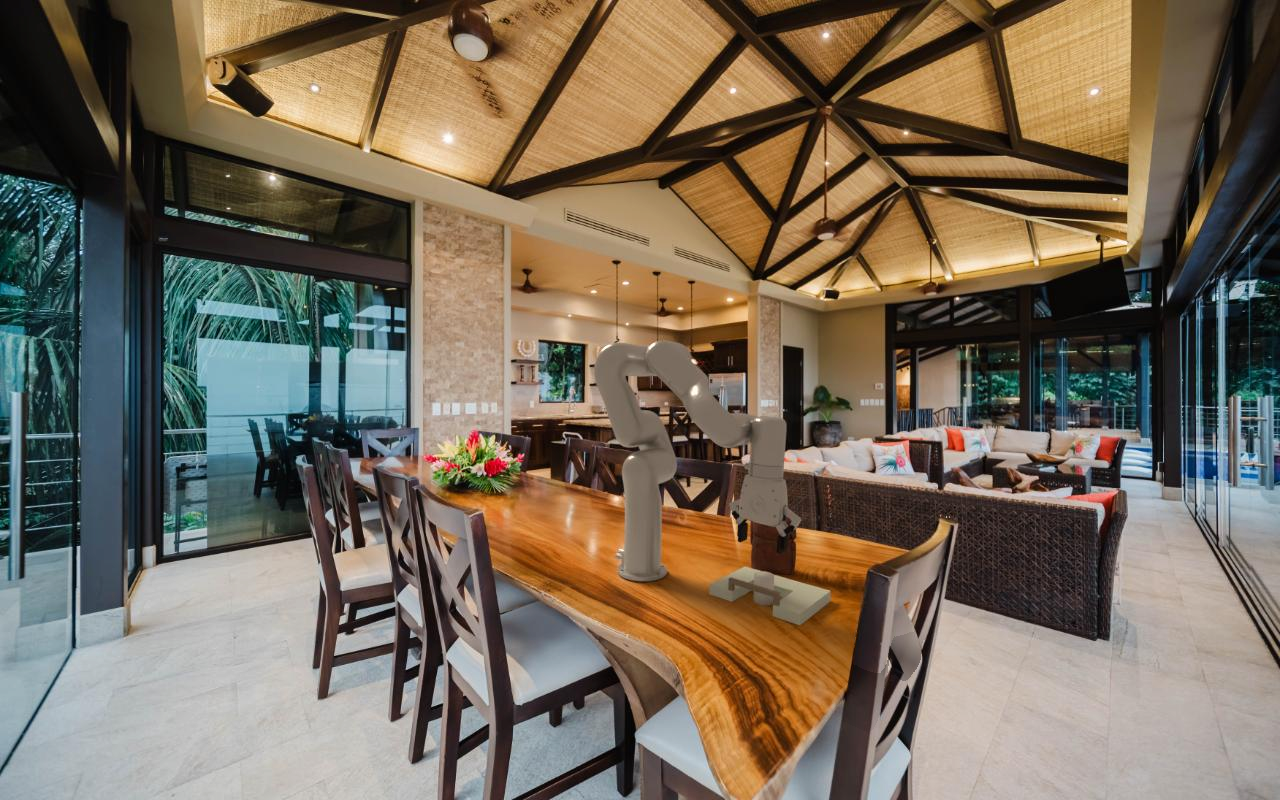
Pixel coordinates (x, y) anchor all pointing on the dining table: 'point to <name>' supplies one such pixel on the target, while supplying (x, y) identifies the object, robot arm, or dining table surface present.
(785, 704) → the dining table surface
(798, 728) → the dining table surface
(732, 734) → the dining table surface
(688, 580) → the dining table surface
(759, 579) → the white cylinder
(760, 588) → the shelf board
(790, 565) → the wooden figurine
